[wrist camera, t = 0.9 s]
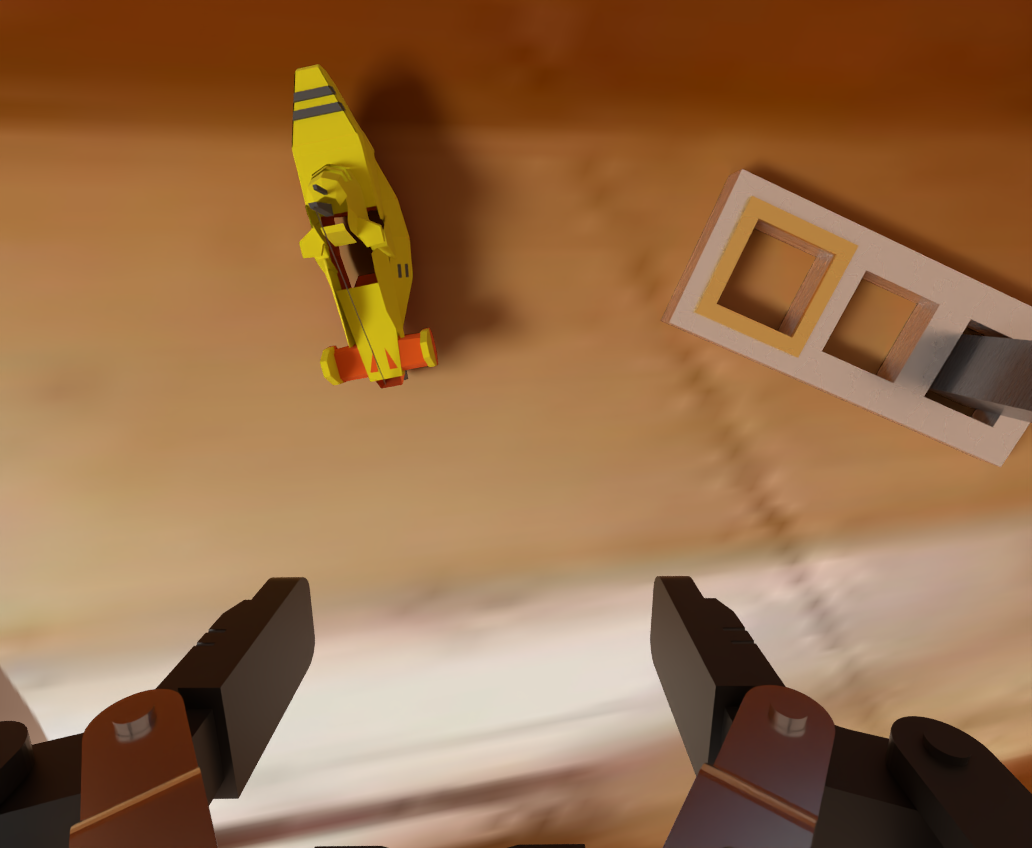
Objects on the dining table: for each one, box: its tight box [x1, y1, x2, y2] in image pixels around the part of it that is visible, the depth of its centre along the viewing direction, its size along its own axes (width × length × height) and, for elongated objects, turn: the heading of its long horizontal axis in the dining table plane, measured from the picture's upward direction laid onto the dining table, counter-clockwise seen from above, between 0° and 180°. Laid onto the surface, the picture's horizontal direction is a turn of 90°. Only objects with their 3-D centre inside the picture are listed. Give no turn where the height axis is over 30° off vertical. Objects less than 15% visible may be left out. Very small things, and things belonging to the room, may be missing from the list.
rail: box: [661, 169, 1032, 467], centre depth 36 cm, size 10×26×2 cm, turn 67°
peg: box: [928, 334, 1032, 423], centre depth 33 cm, size 4×4×10 cm
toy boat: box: [292, 64, 438, 388], centre depth 31 cm, size 6×18×10 cm, turn 11°
